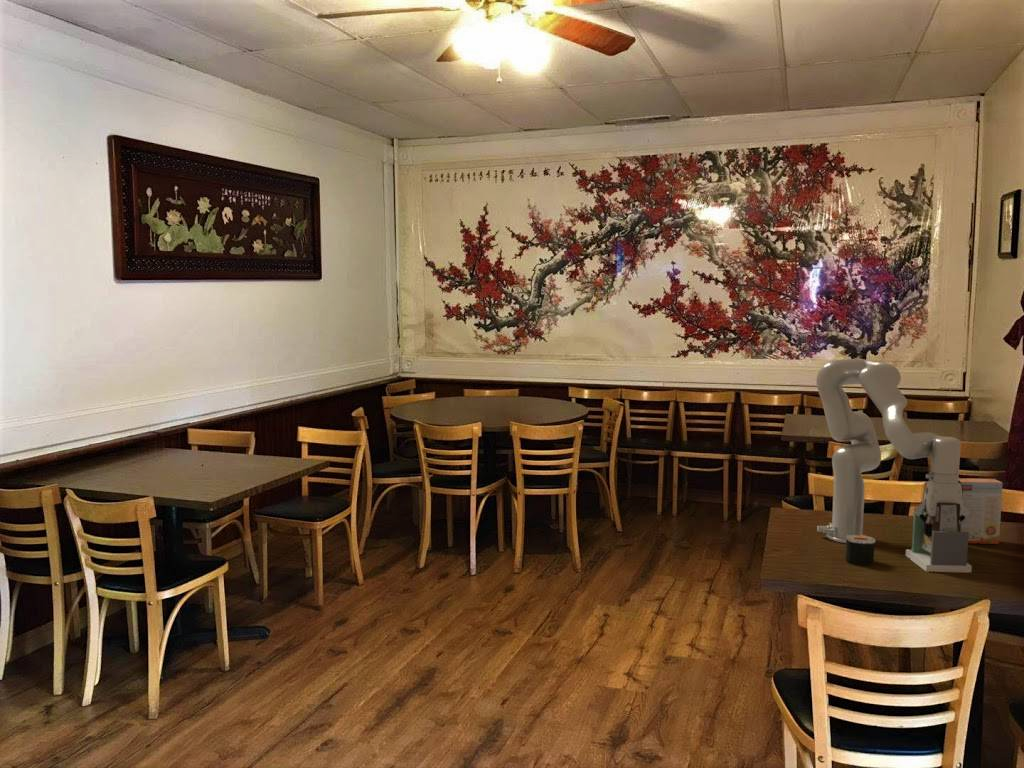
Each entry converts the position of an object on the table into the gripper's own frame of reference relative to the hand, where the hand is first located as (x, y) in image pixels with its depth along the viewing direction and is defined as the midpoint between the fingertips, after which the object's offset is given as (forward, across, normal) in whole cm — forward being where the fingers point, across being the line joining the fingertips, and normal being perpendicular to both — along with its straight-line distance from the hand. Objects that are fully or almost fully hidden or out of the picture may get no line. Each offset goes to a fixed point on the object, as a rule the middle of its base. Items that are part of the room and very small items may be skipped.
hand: (940, 535), depth 255 cm
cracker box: (+9, +22, +25) cm, 35 cm away
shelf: (+9, 0, +1) cm, 9 cm away
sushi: (+9, -23, +1) cm, 25 cm away
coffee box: (+5, 0, 0) cm, 5 cm away
